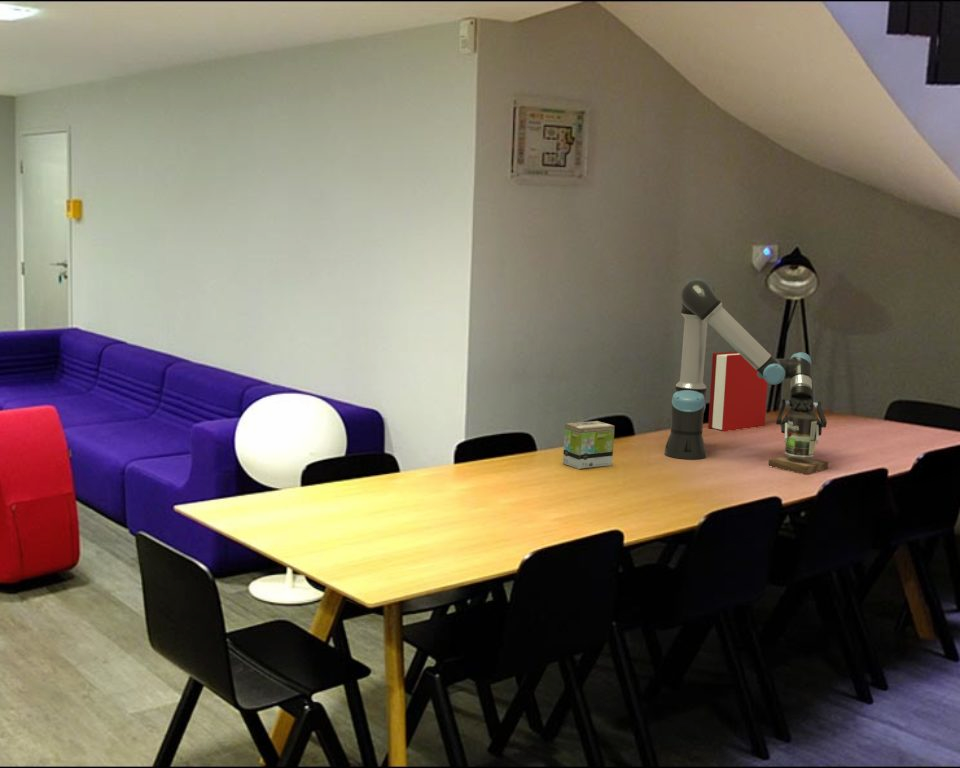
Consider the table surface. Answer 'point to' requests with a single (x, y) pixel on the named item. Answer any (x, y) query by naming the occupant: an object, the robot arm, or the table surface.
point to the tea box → (588, 444)
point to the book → (736, 393)
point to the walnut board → (798, 464)
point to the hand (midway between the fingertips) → (801, 441)
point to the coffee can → (801, 435)
